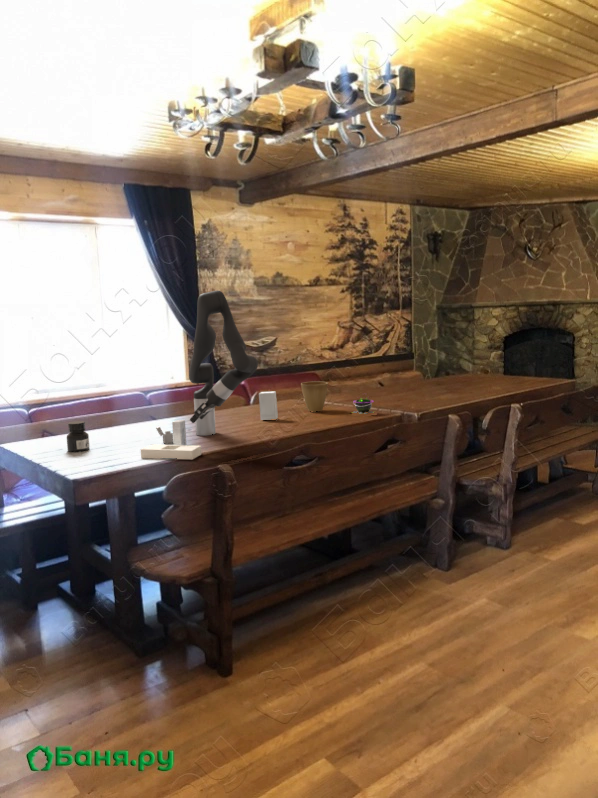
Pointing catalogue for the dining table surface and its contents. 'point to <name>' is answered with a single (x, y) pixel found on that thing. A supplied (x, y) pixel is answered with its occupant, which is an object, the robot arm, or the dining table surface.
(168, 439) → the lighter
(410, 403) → the dining table surface
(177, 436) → the pale grey rectangular block
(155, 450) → the cream recessed block
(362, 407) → the toy cauldron
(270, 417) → the skincare box
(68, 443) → the ink bottle
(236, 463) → the dining table surface
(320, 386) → the plant pot
